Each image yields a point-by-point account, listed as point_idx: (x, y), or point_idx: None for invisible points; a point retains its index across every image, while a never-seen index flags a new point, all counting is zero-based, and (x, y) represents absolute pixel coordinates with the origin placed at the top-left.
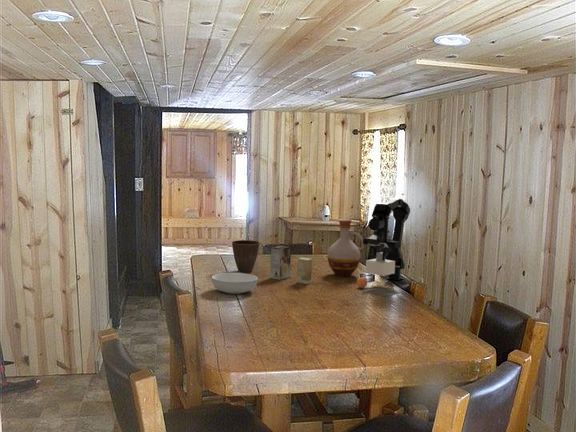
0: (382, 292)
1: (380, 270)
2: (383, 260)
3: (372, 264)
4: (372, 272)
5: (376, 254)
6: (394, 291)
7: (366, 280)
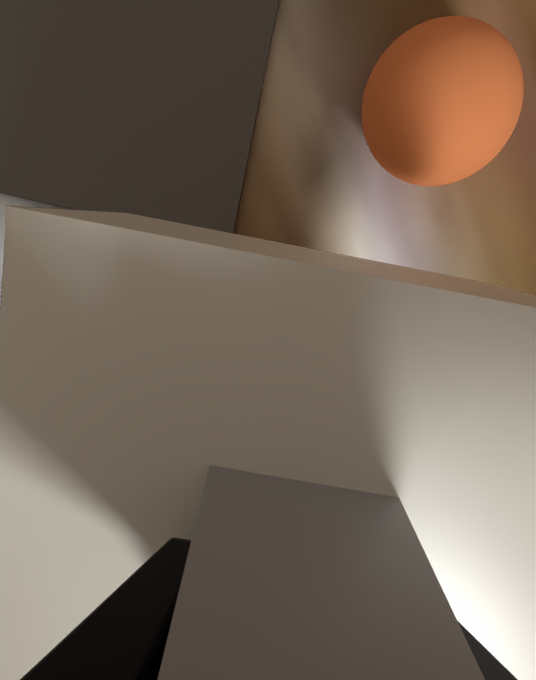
0: (87, 17)
1: (171, 225)
2: (174, 538)
3: (408, 279)
4: (357, 258)
5: (471, 666)
6: (5, 181)
7: (384, 125)
